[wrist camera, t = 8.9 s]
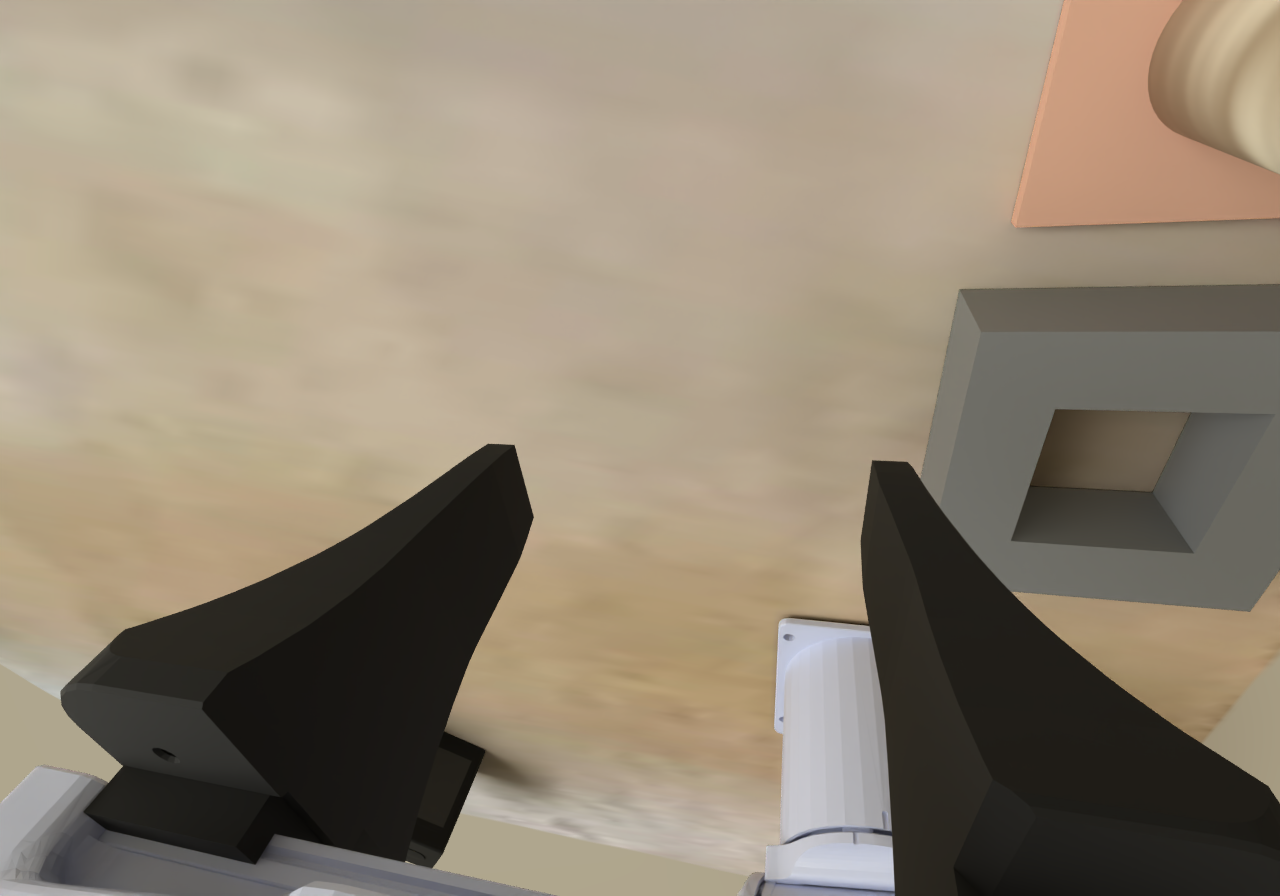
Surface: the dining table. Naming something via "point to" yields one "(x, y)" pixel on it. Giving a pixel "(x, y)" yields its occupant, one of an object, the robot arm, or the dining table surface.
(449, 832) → the digital camera
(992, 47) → the dining table surface
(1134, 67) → the pad
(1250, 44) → the peg
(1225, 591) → the pocket block
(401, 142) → the dining table surface
